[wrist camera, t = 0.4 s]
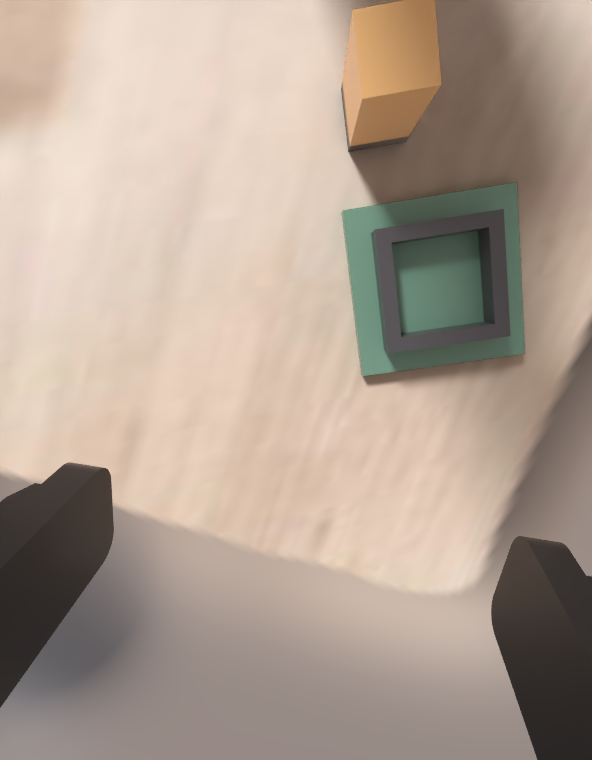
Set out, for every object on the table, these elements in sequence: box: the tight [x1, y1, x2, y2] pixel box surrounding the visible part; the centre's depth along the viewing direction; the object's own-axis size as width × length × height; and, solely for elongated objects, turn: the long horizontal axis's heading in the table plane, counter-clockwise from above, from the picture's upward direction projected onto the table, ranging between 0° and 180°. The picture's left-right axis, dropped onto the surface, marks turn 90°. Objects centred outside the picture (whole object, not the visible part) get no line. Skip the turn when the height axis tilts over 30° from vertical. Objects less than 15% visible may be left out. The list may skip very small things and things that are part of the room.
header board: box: [342, 182, 525, 376], centre depth 32 cm, size 12×12×3 cm
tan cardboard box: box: [341, 0, 442, 152], centre depth 26 cm, size 4×4×9 cm
